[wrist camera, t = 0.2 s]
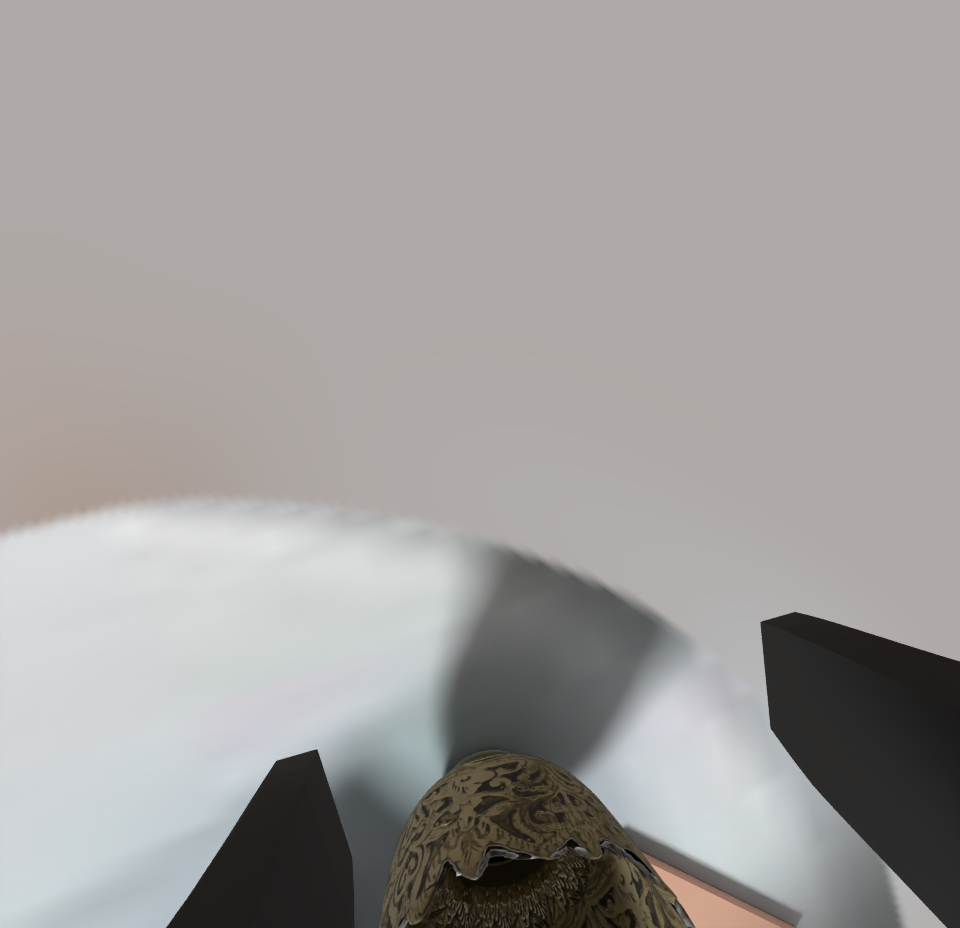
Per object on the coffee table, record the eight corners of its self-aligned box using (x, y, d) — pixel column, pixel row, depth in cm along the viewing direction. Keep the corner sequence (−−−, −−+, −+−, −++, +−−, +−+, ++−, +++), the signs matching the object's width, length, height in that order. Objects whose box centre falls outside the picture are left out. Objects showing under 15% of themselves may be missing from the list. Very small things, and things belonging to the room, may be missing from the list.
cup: (637, 757, 21) (781, 962, 13) (512, 934, 21) (583, 1248, 13) (462, 643, 20) (505, 792, 12) (330, 829, 20) (286, 1103, 12)
